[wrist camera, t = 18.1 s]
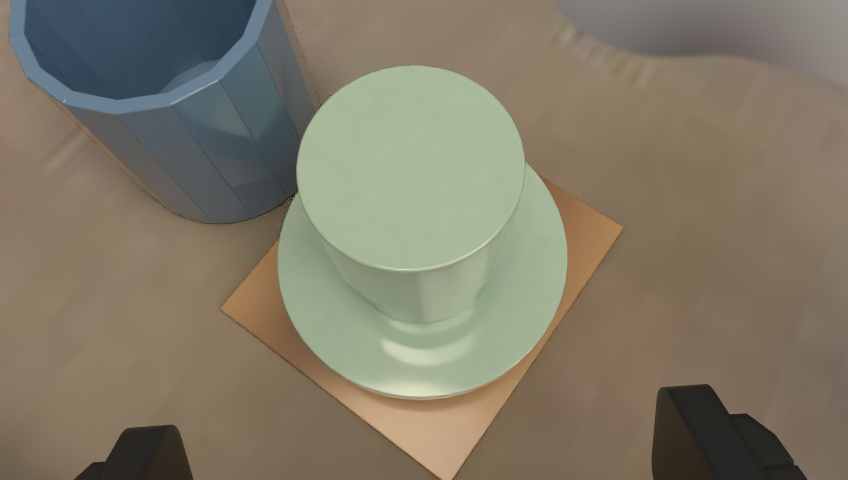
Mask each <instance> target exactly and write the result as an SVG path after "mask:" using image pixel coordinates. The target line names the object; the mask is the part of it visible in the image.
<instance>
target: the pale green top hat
mask: <svg viewBox="0 0 848 480" xmlns="http://www.w3.org/2000/svg"><path fill="white" fill-rule="evenodd" d="M296 182H297V188H298V192H297V193H296V195H295V197H294V199H293V200H292V202H291V204H290V206H289V209H288V211H287V214H286V216H285V219H284V222H283V225H282V229H281V233H280V237H279V244H278V252H277V274H278V280H279V287H280V292H281V296H282V299H283V302H284V306H285V309H286V311H287V313H288V315H289V318H290V320H291V322H292V324H293V326H294V328H295V329H296V331H297V332H298V334H299V335H300V337H301V338H302V340H303V342H304V343H305V344H306V345H307V346H308V347H309V348H310V350H311V351H312V352H313V353H314V354H315V355H316V356H317V357H318V358H319V359H320V360H321V361H322V362H323V363H324V364H326V365H327V366H328V367H329V368H330V369H331V370H332V371H334V372H335V373H337V374H338V375H340V376H341V377H343V378H344V379H346V380H347V381H349V382H351V383H353V384H355V385H357V386H360V387H362V388H364V389H366V390H369V391H372V392H375V393H378V394H381V395H384V396H389V397H395V398H401V399H411V400H431V399H442V398H448V397H452V396H457V395H461V394H465V393H468V392H470V391H473V390H476V389H478V388H481V387H483V386H485V385H487V384H489V383H491V382H493V381H495V380H496V379H498V378H500V377H502V376H503V375H504V374H506V373H507V372H509V371H510V370H511V369H513V368H514V367H515V366H517V365H518V364H519V363H520V362H521V361H522V360H523V359H524V358H525V357H526V356H527V355H528V354H529V353H530V352H531V351H532V350H533V348H534V347H535V346H536V345H537V343H538V342H539V341H540V340H541V338H542V337H543V335H544V334H545V332H546V330H547V329H548V327H549V325H550V324H551V322H552V320H553V318H554V316H555V314H556V311H557V309H558V306H559V304H560V302H561V299H562V295H563V291H564V287H565V283H566V275H567V266H568V255H567V241H566V235H565V230H564V226H563V222H562V219H561V216H560V213H559V210H558V208H557V206H556V204H555V202H554V199H553V197H552V195H551V194H550V192H549V190H548V189H547V187H546V186H545V184H544V183H543V181H542V180H541V178H540V177H539V176H538V175H537V174H536V173H535V171H534V170H533V169H532V168H531V167H530V166H529V165H528V164H527V163H526V162H525V155H524V149H523V144H522V141H521V138H520V134H519V132H518V130H517V127H516V125H515V123H514V121H513V120H512V118H511V116H510V115H509V113H508V112H507V110H506V109H505V108H504V107H503V105H502V104H501V103H500V102H499V101H498V100H497V99H496V98H495V97H494V96H493V95H492V94H491V93H490V92H489V91H487V90H486V89H485V88H483V87H482V86H480V85H479V84H478V83H476V82H474V81H473V80H471V79H469V78H467V77H465V76H463V75H460V74H458V73H455V72H452V71H449V70H445V69H441V68H437V67H430V66H422V65H406V66H396V67H390V68H386V69H381V70H378V71H375V72H372V73H369V74H366V75H364V76H362V77H360V78H357V79H355V80H353V81H352V82H350V83H349V84H347V85H345V86H344V87H342V88H341V89H340V90H338V91H337V92H336V93H334V94H333V95H332V96H331V97H330V98H329V99H328V100H327V101H326V102H325V103H324V104H323V105H322V106H321V107H320V109H319V110H318V111H317V112H316V114H315V115H314V116H313V118H312V120H311V122H310V123H309V125H308V127H307V128H306V131H305V133H304V136H303V138H302V140H301V144H300V147H299V151H298V156H297V164H296Z"/></svg>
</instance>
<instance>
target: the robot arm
mask: <svg viewBox="0 0 848 480" xmlns="http://www.w3.org/2000/svg"><path fill="white" fill-rule="evenodd" d="M652 473H653V479H654V480H807V478H806V477H805V476H804V474H803V473H802V471H801V470H800V469H799V467H798V466H797V465H796V466H795V465H794V462H793V459H792V457H791V456H790V455H789V453H788V452H787V451H786V449H785V448H784V446H783V445H782V444H781V442H780V441H779V439H778V438H777V437H776V435H775V434H774V433H772V432H771V431H770V430H768V429H767V428H766V427H764V426H763V425H761V424H760V423H759V422H757V421H756V420H755V419H753V418H752V417H751V416H749V415H748V414H746V413H745V414H731V415H730V414H729V413H728V411H727V410H726V408H725V407H724V405H723V404H722V402H721V401H720V399H719V398H718V396H717V395H716V393H715V391H714V390H713V389H712V388H711V387H710V386H709V385H707V384H701V385H687V386H673V387H662V388H660V389H659V391H658V395H657V403H656V414H655V425H654V437H653V448H652ZM74 480H193V477H192V473H191V470H190V466H189V463H188V459H187V456H186V453H185V449H184V446H183V442H182V439H181V435H180V433H179V430H178V429H177V427H176V426H174V425H162V426H148V427H135V428H127V429H126V430H124V431H123V432H122V434H121V435H120V437H119V439H118V440H117V442H116V444H115V446H114V448H113V449H112V451H111V453H110V455H109V457H108V458H107V460H106V462H94V463H92V464H91V465H89V466H88V467H87V468H86V469H85V470H84V471H83V472H82V473H81V474H80V475H79V476H77V477H76V478H75V479H74Z"/></svg>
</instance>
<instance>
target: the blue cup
mask: <svg viewBox="0 0 848 480" xmlns="http://www.w3.org/2000/svg"><path fill="white" fill-rule="evenodd" d="M8 37H9V42H10V44H11V46H12V48H13V50H14V52H15V55H16V57H17V59H18V61H19V63H20V65H21V67H22V70H23V72H24V74H25V76H26V77H27V78H28V79H29V80H30V81H31V82H32V83H33V84H34V85H35V86H36V87H37V88H38V89H39V90H40V91H41V92H42V93H43V94H44V95H45V96H46V97H47V98H48V99H49V100H50V101H51V102H53V103H54V104H55V105H56V106H57V107H58V108H59V109H60V110H61V111H62V112H63V113H64V114H65V115H66V116H67V117H68V118H69V119H70V120H71V121H72V122H73V123H74V124H75V125H77V126H78V127H79V128H80V129H81V130H82V131H83V132H84V133H85V134H86V135H87V136H88V137H89V138H90V139H91V140H92V141H93V142H94V143H95V144H96V145H97V146H98V147H99V148H101V149H102V150H103V151H104V152H105V153H106V154H107V155H108V156H109V157H110V158H111V159H112V160H113V161H114V162H115V163H116V164H117V165H118V166H119V167H120V168H121V169H122V170H123V171H125V172H126V173H127V174H128V175H129V176H130V177H131V178H132V179H133V180H134V181H135V182H136V183H137V184H138V185H139V186H140V187H141V188H142V189H143V190H144V191H145V192H147V193H148V194H149V195H151V196H152V197H153V198H155V199H156V200H157V201H158V202H159V203H160V204H162V205H163V206H164V207H165V208H167V209H168V210H170V211H172V212H173V213H175V214H177V215H180V216H182V217H184V218H187V219H190V220H194V221H198V222H204V223H219V224H222V223H233V222H238V221H243V220H248V219H250V218H253V217H256V216H259V215H261V214H263V213H266V212H268V211H270V210H272V209H273V208H275V207H276V206H278V205H280V204H281V203H283V202H284V201H285V200H286V199H288V198H289V197H290V196H291V195H293V193H294V192H295V191H296V190H297V189H298V188H297V182H296V164H297V156H298V151H299V147H300V144H301V140H302V138H303V136H304V133H305V131H306V128H307V127H308V125H309V123H310V122H311V120H312V118H313V116H314V115H315V114H316V112H317V111H318V110H319V109H320V108H319V100H318V96H317V93H316V91H315V88H314V85H313V82H312V79H311V76H310V73H309V70H308V67H307V65H306V62H305V59H304V56H303V53H302V50H301V47H300V44H299V41H298V38H297V36H296V33H295V30H294V27H293V24H292V21H291V18H290V15H289V12H288V9H287V7H286V4H285V1H284V0H11V4H10V18H9V32H8Z"/></svg>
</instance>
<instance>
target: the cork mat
mask: <svg viewBox="0 0 848 480" xmlns="http://www.w3.org/2000/svg"><path fill="white" fill-rule="evenodd" d="M537 175H538V174H537ZM538 176H539V177H540V178H541V180H542V181H543V183H544V184H545V186H546V187H547V189H548V190H549V192H550V194H551V195H552V197H553V199H554V202H555V204H556V206H557V208H558V210H559V213H560V216H561V219H562V222H563V226H564V230H565V235H566V241H567V255H568V266H567V275H566V283H565V287H564V291H563V295H562V299H561V302H560V304H559V306H558V309H557V311H556V314H555V316H554V318H553V320H552V322H551V324H550V325H549V327H548V329H547V330H546V332H545V334H544V335H543V337H542V338H541V340H540V341H539V342H538V343H537V345H536V346H535V347H534V348H533V350H532V351H531V352H530V353H529V354H528V355H527V356H526V357H525V358H524V359H523V360H522V361H521V362H520V363H519V364H518V365H517V366H515V367H514V368H513V369H511V370H510V371H509V372H507V373H506V374H504V375H503V376H502V377H500V378H498V379H496V380H495V381H493V382H491V383H489V384H487V385H485V386H483V387H481V388H478V389H476V390H473V391H470V392H468V393H465V394H461V395H457V396H452V397H448V398H442V399H431V400H411V399H401V398H395V397H389V396H384V395H381V394H378V393H375V392H372V391H369V390H366V389H364V388H362V387H360V386H357V385H355V384H353V383H351V382H349V381H347V380H346V379H344V378H343V377H341V376H340V375H338V374H337V373H335V372H334V371H332V370H331V369H330V368H329V367H328V366H327V365H326V364H324V363H323V362H322V361H321V360H320V359H319V358H318V357H317V356H316V355H315V354H314V353H313V352H312V351H311V350H310V348H309V347H308V346H307V345H306V344H305V343H304V342H303V340H302V338H301V337H300V335H299V334H298V332H297V331H296V329H295V328H294V326H293V324H292V322H291V320H290V318H289V315H288V313H287V311H286V309H285V306H284V302H283V299H282V296H281V292H280V287H279V280H278V274H277V252H278V244H279V239H278V240H277V241H276V243H275V244H274V245H273V246H272V247H271V248H270V250H269V251H268V252H267V253H266V254H265V256H264V257H263V258H262V259H261V260H260V261H259V263H258V264H257V265H256V266H255V267H254V269H253V270H252V271H251V272H250V273H249V275H248V276H247V277H246V278H245V279H244V280H243V282H242V283H241V284H240V285H239V286H238V288H237V289H236V290H235V291H234V292H233V293H232V295H231V296H230V297H229V298H228V299H227V301H226V302H225V303H224V304H223V305H222V307H221V308H220V310H221V311H223V312H224V313H225V314H227V315H228V316H229V317H231V318H232V319H233V320H234V321H236V322H237V323H238V324H240V325H241V326H242V327H243V328H245V329H246V330H247V331H249V332H250V333H251V334H253V335H254V336H255V337H256V338H258V339H259V340H260V341H262V342H263V343H264V344H265V345H267V346H268V347H269V348H271V349H272V350H273V351H274V352H276V353H277V354H278V355H280V356H281V357H282V358H284V359H285V360H286V361H287V362H289V363H290V364H291V365H293V366H294V367H295V368H296V369H298V370H299V371H300V372H302V373H303V374H304V375H305V376H307V377H308V378H309V379H311V380H312V381H313V382H315V383H316V384H317V385H318V386H320V387H321V388H322V389H324V390H325V391H326V392H327V393H329V394H330V395H331V396H333V397H334V398H335V399H336V400H338V401H339V402H340V403H342V404H343V405H344V406H346V407H347V408H348V409H349V410H351V411H352V412H353V413H355V414H356V415H357V416H358V417H360V418H361V419H362V420H364V421H365V422H366V423H367V424H369V425H370V426H371V427H373V428H374V429H375V430H377V431H378V432H379V433H380V434H382V435H383V436H384V437H386V438H387V439H388V440H389V441H391V442H392V443H393V444H395V445H396V446H397V447H398V448H400V449H401V450H402V451H404V452H405V453H406V454H408V455H409V456H410V457H411V458H413V459H414V460H415V461H417V462H418V463H419V464H420V465H422V466H423V467H424V468H426V469H427V470H428V471H429V472H431V473H432V474H433V475H435V476H436V477H437V478H439V479H440V480H453V479H454V477H455V476H456V474H457V473H458V471H459V470H460V468H461V467H462V465H463V464H464V462H465V461H466V460H467V458H468V457H469V455H470V454H471V452H472V451H473V449H474V448H475V446H476V445H477V443H478V442H479V440H480V439H481V437H482V436H483V435H484V433H485V432H486V430H487V429H488V427H489V426H490V424H491V423H492V421H493V420H494V418H495V417H496V415H497V414H498V412H499V411H500V410H501V408H502V407H503V405H504V404H505V402H506V401H507V399H508V398H509V396H510V395H511V393H512V392H513V390H514V389H515V387H516V386H517V384H518V383H519V382H520V380H521V379H522V377H523V376H524V374H525V373H526V371H527V370H528V368H529V367H530V365H531V364H532V362H533V361H534V359H535V358H536V357H537V355H538V354H539V352H540V351H541V349H542V348H543V346H544V345H545V343H546V342H547V340H548V339H549V337H550V336H551V334H552V333H553V332H554V330H555V329H556V327H557V326H558V324H559V323H560V321H561V320H562V318H563V317H564V315H565V314H566V312H567V311H568V309H569V308H570V306H571V305H572V304H573V302H574V301H575V299H576V298H577V296H578V295H579V293H580V292H581V290H582V289H583V287H584V286H585V284H586V283H587V281H588V280H589V279H590V277H591V276H592V274H593V273H594V271H595V270H596V268H597V267H598V265H599V264H600V262H601V261H602V259H603V258H604V256H605V255H606V254H607V252H608V251H609V249H610V248H611V246H612V245H613V243H614V242H615V240H616V239H617V237H618V236H619V234H620V233H621V231H622V230H623V227H622V226H620V225H619V224H617V223H615V222H614V221H612V220H611V219H609V218H607V217H606V216H604V215H602V214H601V213H599V212H598V211H596V210H594V209H593V208H591V207H590V206H588V205H586V204H585V203H583V202H582V201H580V200H578V199H577V198H575V197H573V196H572V195H570V194H569V193H567V192H565V191H564V190H562V189H561V188H559V187H557V186H556V185H554V184H553V183H551V182H549V181H548V180H546V179H544V178H543V177H541V176H540V175H538Z"/></svg>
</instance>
